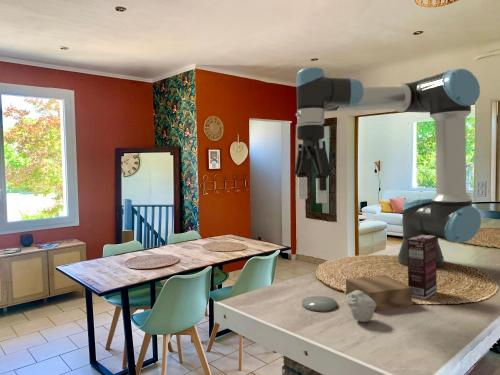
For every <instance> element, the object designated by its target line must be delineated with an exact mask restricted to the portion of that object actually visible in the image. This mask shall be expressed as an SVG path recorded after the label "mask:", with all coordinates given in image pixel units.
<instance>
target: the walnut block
mask: <svg viewBox="0 0 500 375" xmlns="http://www.w3.org/2000/svg"><path fill="white" fill-rule="evenodd" d="M355 290H359V291H362V292H363V293H364V294H365V295H367V296H369V297H370V298H371V299H372V300H373V301H374V302H375V303H376V307H375V310H374V312H375V311H381V310H388V309H390V310H391V309H395V308H396V309H397V308H402V307H410V306H413V297H412V287H410V286H408V285H407V284H405V283H403V282H401V281H398V280H396V279H394V278H392V277H390V276H388V275H385V274H378V275H371V276H364V277H363V276H361V277H354V278H345V296H346V295H348V294H349V293H352V292H353V291H355Z"/></svg>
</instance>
